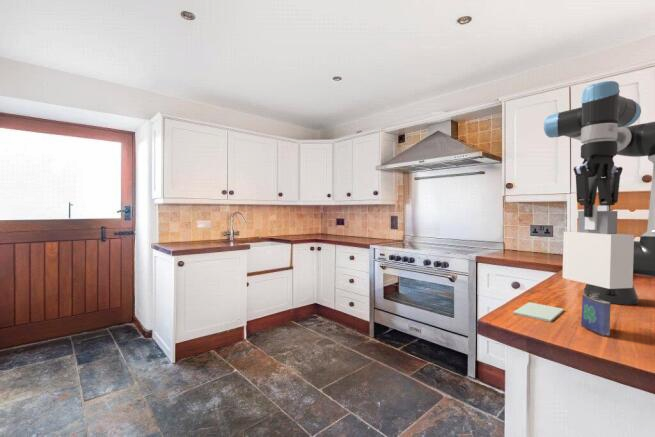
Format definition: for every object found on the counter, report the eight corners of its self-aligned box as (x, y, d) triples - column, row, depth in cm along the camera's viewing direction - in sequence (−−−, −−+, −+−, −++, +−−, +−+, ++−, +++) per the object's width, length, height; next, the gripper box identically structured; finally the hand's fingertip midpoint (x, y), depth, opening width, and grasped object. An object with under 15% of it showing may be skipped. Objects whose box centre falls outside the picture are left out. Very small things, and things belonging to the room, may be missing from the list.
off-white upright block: (582, 277, 93) (584, 211, 92) (632, 287, 80) (634, 211, 80) (562, 277, 92) (564, 210, 91) (609, 288, 79) (611, 210, 78)
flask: (612, 337, 81) (613, 296, 81) (599, 336, 82) (600, 295, 82) (588, 324, 91) (589, 287, 90) (577, 324, 91) (577, 287, 91)
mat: (563, 310, 103) (563, 308, 103) (550, 322, 93) (550, 319, 92) (528, 303, 111) (528, 302, 111) (513, 313, 100) (513, 311, 100)
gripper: (587, 138, 80) (585, 230, 80) (638, 140, 83) (636, 230, 83) (560, 144, 87) (558, 228, 88) (608, 146, 90) (606, 228, 91)
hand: (596, 229), depth 85 cm, fingers closed on off-white upright block, 3 cm apart
